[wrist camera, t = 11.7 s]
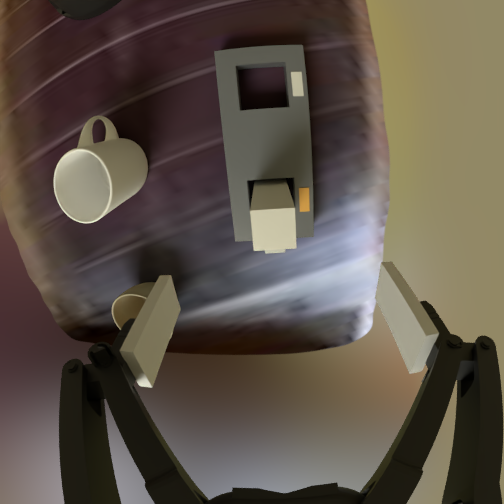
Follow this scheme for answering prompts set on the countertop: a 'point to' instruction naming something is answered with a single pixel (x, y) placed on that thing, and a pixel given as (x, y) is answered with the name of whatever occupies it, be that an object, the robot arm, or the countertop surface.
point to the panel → (266, 134)
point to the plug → (272, 216)
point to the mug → (99, 174)
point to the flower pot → (131, 303)
